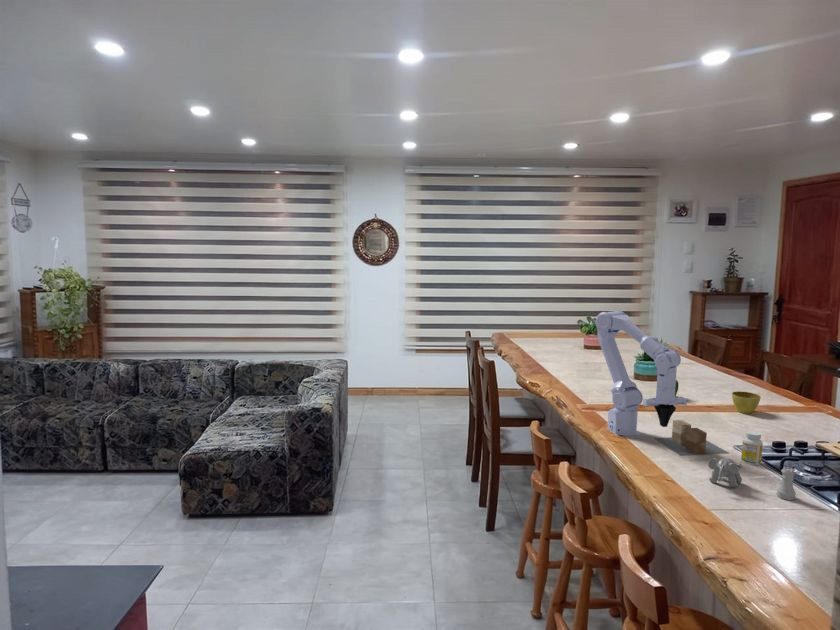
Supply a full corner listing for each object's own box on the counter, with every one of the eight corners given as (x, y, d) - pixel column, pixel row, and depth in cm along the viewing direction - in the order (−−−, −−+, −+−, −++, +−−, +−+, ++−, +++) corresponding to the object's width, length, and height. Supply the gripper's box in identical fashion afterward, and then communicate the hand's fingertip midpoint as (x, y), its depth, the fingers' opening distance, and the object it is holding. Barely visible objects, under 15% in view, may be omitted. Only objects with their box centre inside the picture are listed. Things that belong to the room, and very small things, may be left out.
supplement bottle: (748, 466, 170) (751, 436, 169) (736, 459, 176) (739, 430, 174) (765, 465, 171) (767, 435, 170) (753, 459, 176) (755, 429, 175)
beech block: (680, 445, 187) (681, 425, 186) (671, 440, 192) (673, 420, 191) (690, 444, 187) (691, 424, 186) (681, 439, 192) (682, 420, 191)
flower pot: (763, 416, 219) (765, 398, 218) (735, 414, 221) (736, 397, 220) (753, 409, 229) (755, 392, 228) (726, 407, 231) (728, 390, 230)
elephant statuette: (739, 481, 161) (741, 454, 160) (748, 496, 150) (750, 468, 149) (704, 476, 164) (705, 451, 163) (710, 491, 153) (711, 464, 152)
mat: (680, 456, 178) (680, 455, 178) (653, 439, 193) (653, 438, 193) (729, 454, 180) (729, 453, 180) (698, 437, 196) (698, 436, 196)
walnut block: (695, 454, 179) (696, 433, 178) (685, 448, 184) (687, 428, 183) (705, 453, 179) (706, 432, 178) (695, 448, 184) (697, 427, 183)
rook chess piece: (788, 493, 152) (791, 465, 151) (799, 500, 148) (802, 472, 147) (772, 493, 152) (774, 465, 151) (783, 501, 148) (786, 472, 147)
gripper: (652, 390, 181) (649, 430, 183) (693, 389, 183) (690, 429, 185) (640, 385, 188) (638, 423, 190) (680, 383, 190) (678, 422, 192)
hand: (663, 426), depth 188 cm, fingers closed
